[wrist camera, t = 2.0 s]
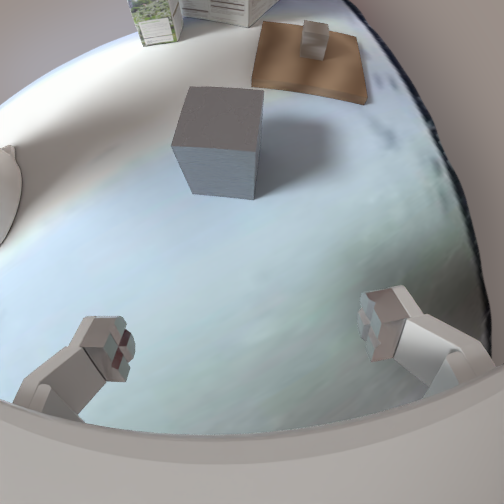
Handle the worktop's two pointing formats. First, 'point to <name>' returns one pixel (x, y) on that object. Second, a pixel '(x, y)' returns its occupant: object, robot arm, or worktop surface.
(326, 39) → the tang block
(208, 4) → the supplement box
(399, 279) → the worktop surface
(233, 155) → the grey rectangular block
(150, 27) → the syrup box
